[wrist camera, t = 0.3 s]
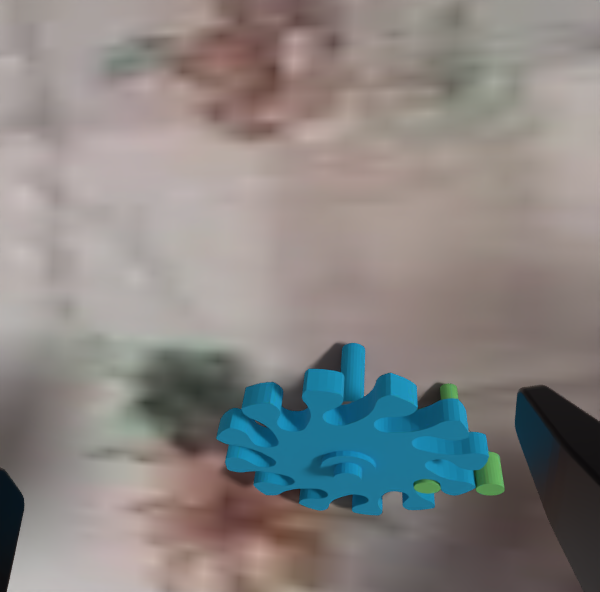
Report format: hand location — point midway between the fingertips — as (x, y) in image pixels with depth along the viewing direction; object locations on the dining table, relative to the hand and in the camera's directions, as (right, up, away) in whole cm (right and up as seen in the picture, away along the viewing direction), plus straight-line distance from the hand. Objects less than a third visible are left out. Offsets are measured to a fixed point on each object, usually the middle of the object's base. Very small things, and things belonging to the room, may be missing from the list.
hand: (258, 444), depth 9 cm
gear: (+3, -3, +15) cm, 16 cm away
